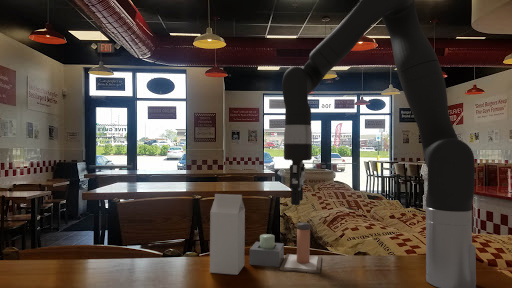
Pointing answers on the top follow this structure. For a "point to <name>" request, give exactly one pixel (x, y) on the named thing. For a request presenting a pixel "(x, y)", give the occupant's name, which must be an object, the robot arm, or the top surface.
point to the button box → (266, 255)
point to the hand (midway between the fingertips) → (297, 202)
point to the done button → (267, 241)
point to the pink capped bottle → (303, 242)
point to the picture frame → (301, 264)
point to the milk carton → (227, 234)
